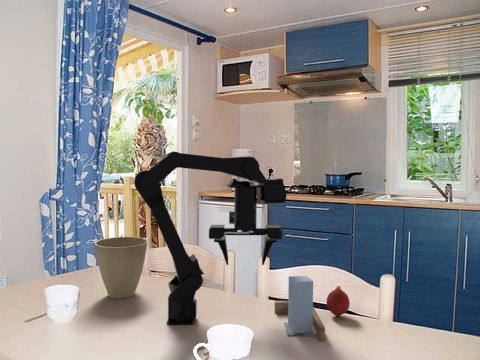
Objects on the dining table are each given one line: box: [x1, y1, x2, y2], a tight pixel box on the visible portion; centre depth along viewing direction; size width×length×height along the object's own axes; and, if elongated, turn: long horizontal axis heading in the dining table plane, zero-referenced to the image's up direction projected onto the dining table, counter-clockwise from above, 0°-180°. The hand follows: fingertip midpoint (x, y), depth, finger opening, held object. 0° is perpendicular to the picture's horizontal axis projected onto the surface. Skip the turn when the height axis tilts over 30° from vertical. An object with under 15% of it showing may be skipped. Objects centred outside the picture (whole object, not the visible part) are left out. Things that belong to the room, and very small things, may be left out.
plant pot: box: [94, 236, 148, 299], centre depth 119 cm, size 15×15×16 cm
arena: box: [274, 300, 326, 342], centre depth 98 cm, size 9×17×3 cm, turn 1°
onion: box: [326, 285, 351, 318], centre depth 104 cm, size 6×6×8 cm
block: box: [287, 275, 314, 333], centre depth 95 cm, size 4×4×12 cm
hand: (245, 264), depth 105 cm, fingers open, 9 cm apart
